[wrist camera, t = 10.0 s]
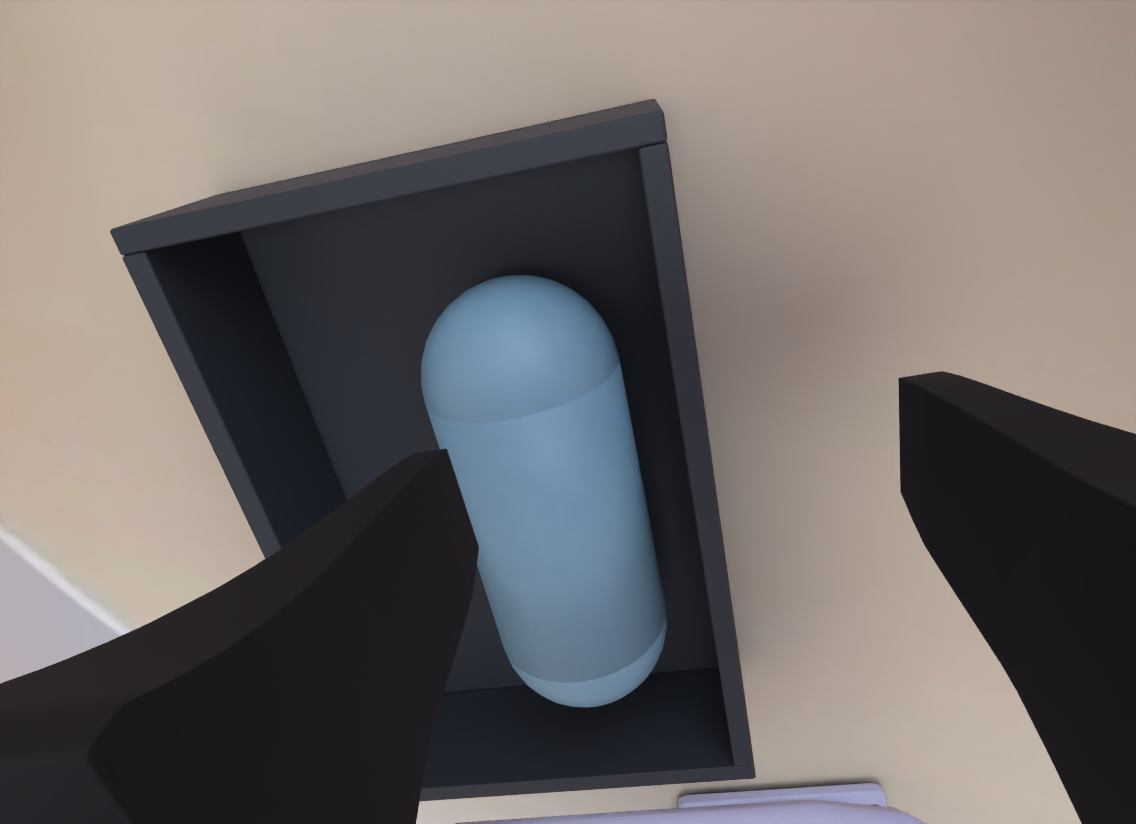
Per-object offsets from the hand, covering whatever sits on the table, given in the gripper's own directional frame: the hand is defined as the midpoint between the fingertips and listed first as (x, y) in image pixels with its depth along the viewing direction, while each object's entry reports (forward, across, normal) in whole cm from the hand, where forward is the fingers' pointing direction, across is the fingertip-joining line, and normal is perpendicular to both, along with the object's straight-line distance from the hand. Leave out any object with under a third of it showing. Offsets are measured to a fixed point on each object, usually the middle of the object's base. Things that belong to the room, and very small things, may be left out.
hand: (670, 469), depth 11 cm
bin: (+10, +5, +5) cm, 12 cm away
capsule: (+8, +5, +4) cm, 11 cm away
